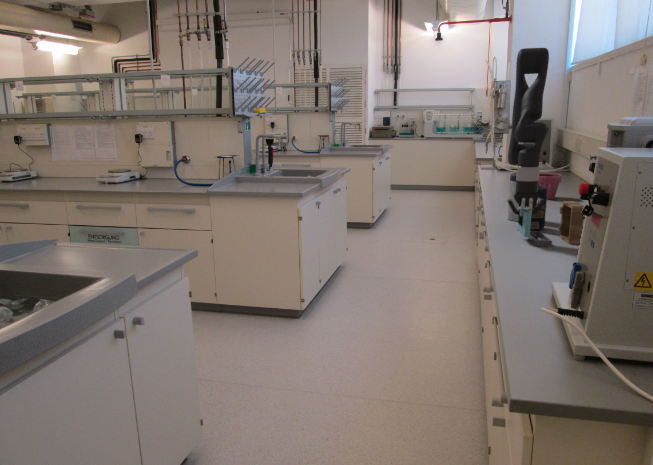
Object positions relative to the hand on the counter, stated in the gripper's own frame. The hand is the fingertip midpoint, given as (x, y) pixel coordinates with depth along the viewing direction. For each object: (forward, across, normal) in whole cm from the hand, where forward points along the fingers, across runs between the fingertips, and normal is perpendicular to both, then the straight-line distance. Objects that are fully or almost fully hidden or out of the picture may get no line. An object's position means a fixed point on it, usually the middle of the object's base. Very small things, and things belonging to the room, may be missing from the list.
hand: (523, 225), depth 182 cm
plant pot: (+8, -36, -93) cm, 100 cm away
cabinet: (+6, -17, -1) cm, 18 cm away
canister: (+7, -9, -21) cm, 23 cm away
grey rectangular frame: (+6, -5, 0) cm, 8 cm away
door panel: (+3, 0, 0) cm, 3 cm away
